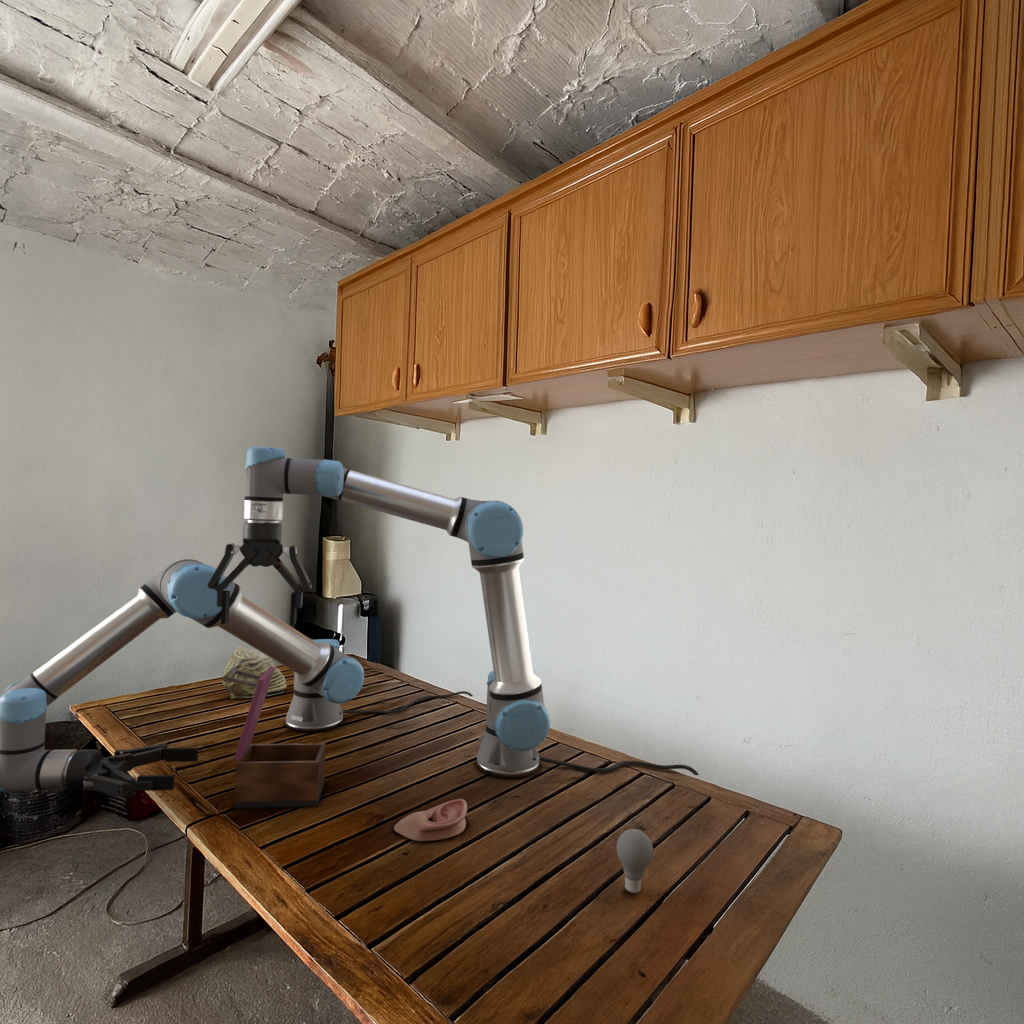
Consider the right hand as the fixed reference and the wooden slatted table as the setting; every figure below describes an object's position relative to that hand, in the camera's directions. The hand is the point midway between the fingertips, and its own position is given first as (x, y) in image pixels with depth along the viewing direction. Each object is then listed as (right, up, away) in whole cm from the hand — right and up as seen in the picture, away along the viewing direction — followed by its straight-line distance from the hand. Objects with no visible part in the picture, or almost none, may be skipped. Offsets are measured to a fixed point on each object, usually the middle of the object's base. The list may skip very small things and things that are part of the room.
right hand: (259, 623), depth 132 cm
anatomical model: (+37, -38, -9) cm, 54 cm away
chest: (+4, -37, +2) cm, 37 cm away
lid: (-1, -19, 0) cm, 19 cm away
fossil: (-28, -34, +66) cm, 79 cm away
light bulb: (+73, -40, -26) cm, 87 cm away
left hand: (-14, -30, -1) cm, 33 cm away
